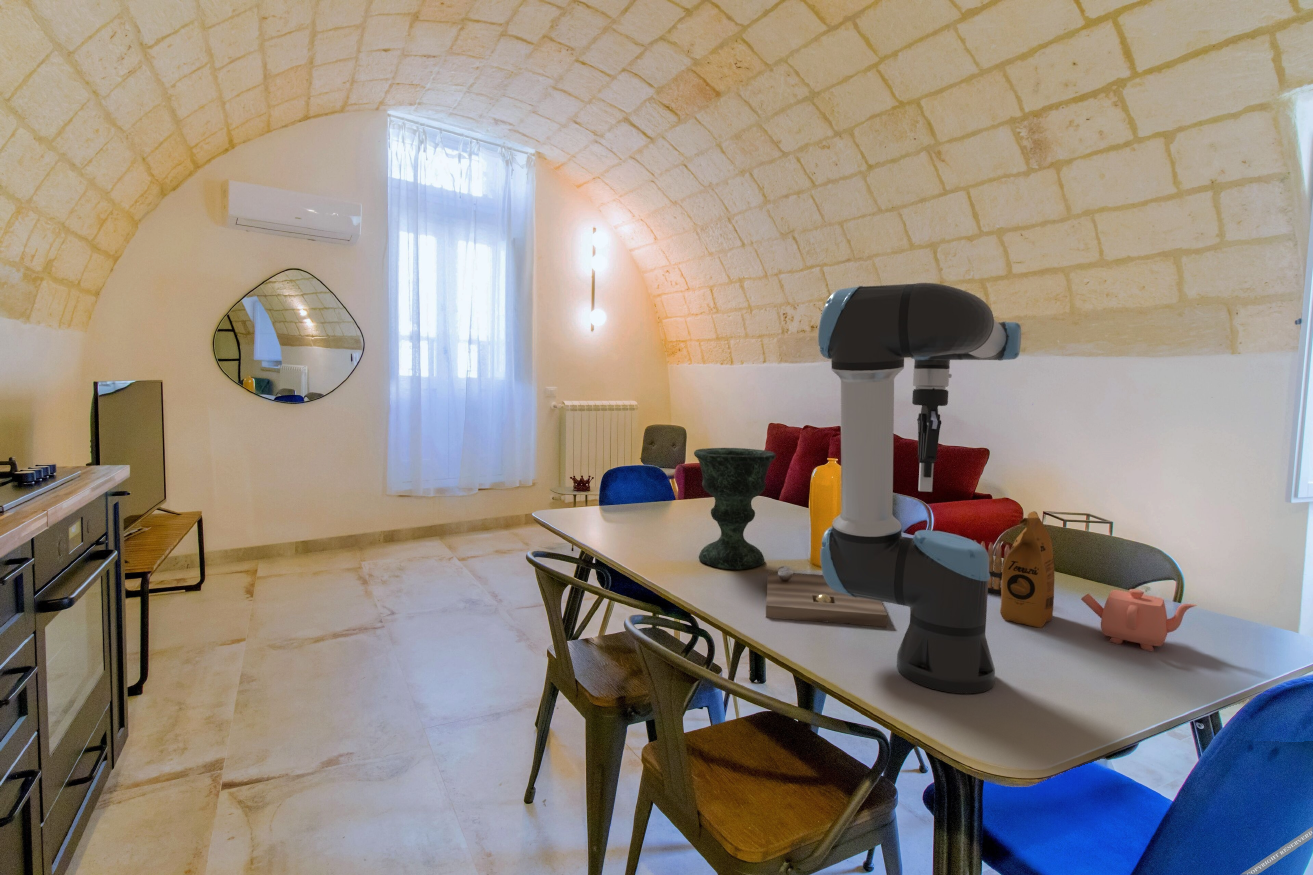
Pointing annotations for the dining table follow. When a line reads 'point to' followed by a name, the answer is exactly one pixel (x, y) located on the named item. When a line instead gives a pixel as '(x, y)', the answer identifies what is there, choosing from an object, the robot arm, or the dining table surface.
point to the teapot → (1136, 617)
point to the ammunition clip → (995, 568)
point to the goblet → (733, 502)
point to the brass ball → (823, 598)
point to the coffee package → (1029, 576)
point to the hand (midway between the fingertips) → (925, 490)
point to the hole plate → (800, 602)
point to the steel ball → (785, 573)
